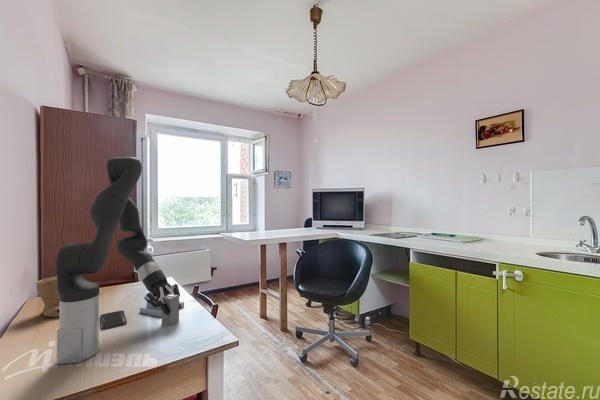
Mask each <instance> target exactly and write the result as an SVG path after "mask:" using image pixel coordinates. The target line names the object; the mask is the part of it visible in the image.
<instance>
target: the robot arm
mask: <svg viewBox="0 0 600 400" xmlns="http://www.w3.org/2000/svg"><path fill="white" fill-rule="evenodd" d="M142 170H143V165H142V162H141V160H140V159H138V158H137V157H134V156H124V157H121V156H119V157H112V158H110V159H108V161H107V163H106V172H107V175H108V179H109V180H108V181H109V183H110V185H108V186H107V187H106V188H104V189H103V190H101V191H100V192H99V193H98V194H97V196H96V197H95V199H94V201H93V203H92V205H91V207H90V209H89V214H90V218H91V221H92V223H93V225H94V227H95V230H96V234H95V238H94V239H93V241H92V242H82V243H81V242H75V243H66V244H64V245H63V246H61V247H60V249H59V250H58V252H57V254H56V259H55V260H56V262H55V269H56V276H57V290H58V293H59V296H60V308H59V316H58V317H59V318H58V323H59V324H58V329H57V331H56V365H64V364H65V365H66V364H80V363H82V362H83V361H85V360H87V359H89V358H91V357H94V356H95V355H96V354H97V353H99V351H100V350H99V349H100V348H99V347H100V285H98V283H95V282H92V281H89V280H86V279H85V278H83V277H82V275H92V274H93V275H94V274H98V273H99V272H100V271H101V270H102V269H103V267H105V266H104V265H105V264H106V262H107V259H108V255H109V253H110V249H111V245H112V242H113V238H114V235H115V232H116V229H117V227H118V225H119V228H120V230H121V231H122V232H130V233H132V236H126V237H124V238H120V239H119V240H118V242H117V243H116V249H117V252H118V253H119V255H120V256H121V257H123V258H124V259H125V260H126V261H128V262H129V263H130V264H132V266H133V268H134V269H135V271H136V272H137V274H138V277H139V279H140V280H141V282H142V284H143V285H144V287H145V288H146V291H148V292H147V293H146V295H144V298H143V299H144V300H145V301H146V303H147V302H149V303H150V304H151V305H152V306H153V307H154V308H157V307H160V308H161V309H162V310H163V312H164V314H166V315H169V314H170V313H171V310H170V308H169V307H168V305H167V304H165V303H166V302H165V300H164V297H165V296H166V295H169V294H174V295H179V298H180V296H181V293H180V292H181V291H180V289H179V285H178V283H175V284H172V285H171V284H170V283H169V282H168V278H167V277H166V275H165V273H164V272H163V270H162V269H161V267H160V266H159V265H158V263H157V262H156V261H155V260H154V258H153V257H152V255H151V253H150V252H148V251H145V250H146V249H147V245H148V240H147V237H146V236H145V233H144V231H143V229H142V226H141V219H140V213H139V209H138V206H137V205H136V204H135V202H134V200H133V199H132V198H131V194H132V192H133V190H134V188H135V186H136V185H137V183H138V182H139V179H140V178H141V175H142ZM155 297H156V298H155ZM154 302H155V303H154ZM181 309H182V308H181V304H180V303H179V311H180V310H181Z"/></svg>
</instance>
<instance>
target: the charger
mask: <svg viewBox="0 0 600 400" xmlns="http://www.w3.org/2000/svg"><path fill="white" fill-rule="evenodd" d="M164 300H165V302H166V303H165V304H167V305H168V307H169V308H170V310H171V313H170V314H169V315H166V314H164V312H163V310H162V317H161V325H165V326H173V325H175V324H177V323H178V322H180V310H179V301H180V297H179V295H174V294H169V295H166V296H165V297H164Z"/></svg>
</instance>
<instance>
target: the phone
mask: <svg viewBox="0 0 600 400" xmlns="http://www.w3.org/2000/svg"><path fill="white" fill-rule="evenodd" d="M99 322H100V329H101V330H103V331H105V330H108V329H113V328H117V327H121V326H125V325H127V322H128V321H127V318H126V315H125V312H124V310H117V311H113V312H106V313H102V314H99Z"/></svg>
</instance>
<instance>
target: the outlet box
mask: <svg viewBox="0 0 600 400" xmlns="http://www.w3.org/2000/svg"><path fill="white" fill-rule="evenodd" d="M155 298H156V297H155ZM154 303H155V302H154ZM179 303H180V304H181V308H180V309H182V308H184V307H185V301H180V300H179ZM139 313H140V314H141V313H142V314H144V315H145V314H146V315H150V316H154V317H158V318H162V309H161V308H160V307H157V308H154V307H153V306H152V305H151V304H150V303H149V302H147V301H146V304H145V305H143V306H140V307H139Z"/></svg>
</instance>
